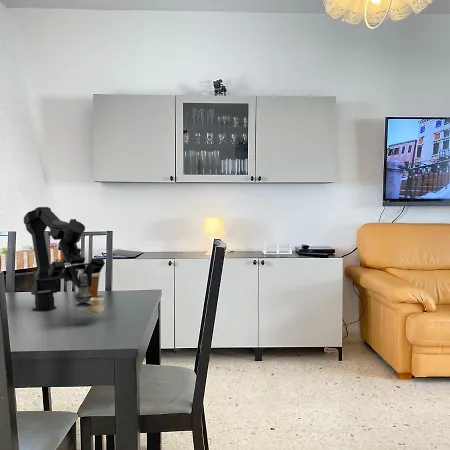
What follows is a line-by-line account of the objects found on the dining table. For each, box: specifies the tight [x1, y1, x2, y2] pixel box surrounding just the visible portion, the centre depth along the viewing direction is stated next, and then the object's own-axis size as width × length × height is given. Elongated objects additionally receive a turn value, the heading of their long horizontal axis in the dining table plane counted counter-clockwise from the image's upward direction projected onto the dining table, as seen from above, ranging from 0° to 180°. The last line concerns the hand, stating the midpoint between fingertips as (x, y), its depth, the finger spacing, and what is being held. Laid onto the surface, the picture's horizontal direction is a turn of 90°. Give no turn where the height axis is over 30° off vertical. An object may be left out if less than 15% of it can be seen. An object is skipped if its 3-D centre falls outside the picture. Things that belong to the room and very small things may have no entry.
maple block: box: [86, 297, 105, 314], centre depth 178 cm, size 5×5×5 cm
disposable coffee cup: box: [78, 270, 101, 298], centre depth 205 cm, size 10×10×12 cm
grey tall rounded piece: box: [73, 270, 92, 308], centre depth 158 cm, size 6×6×12 cm
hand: (85, 286), depth 157 cm, fingers closed on grey tall rounded piece, 4 cm apart
